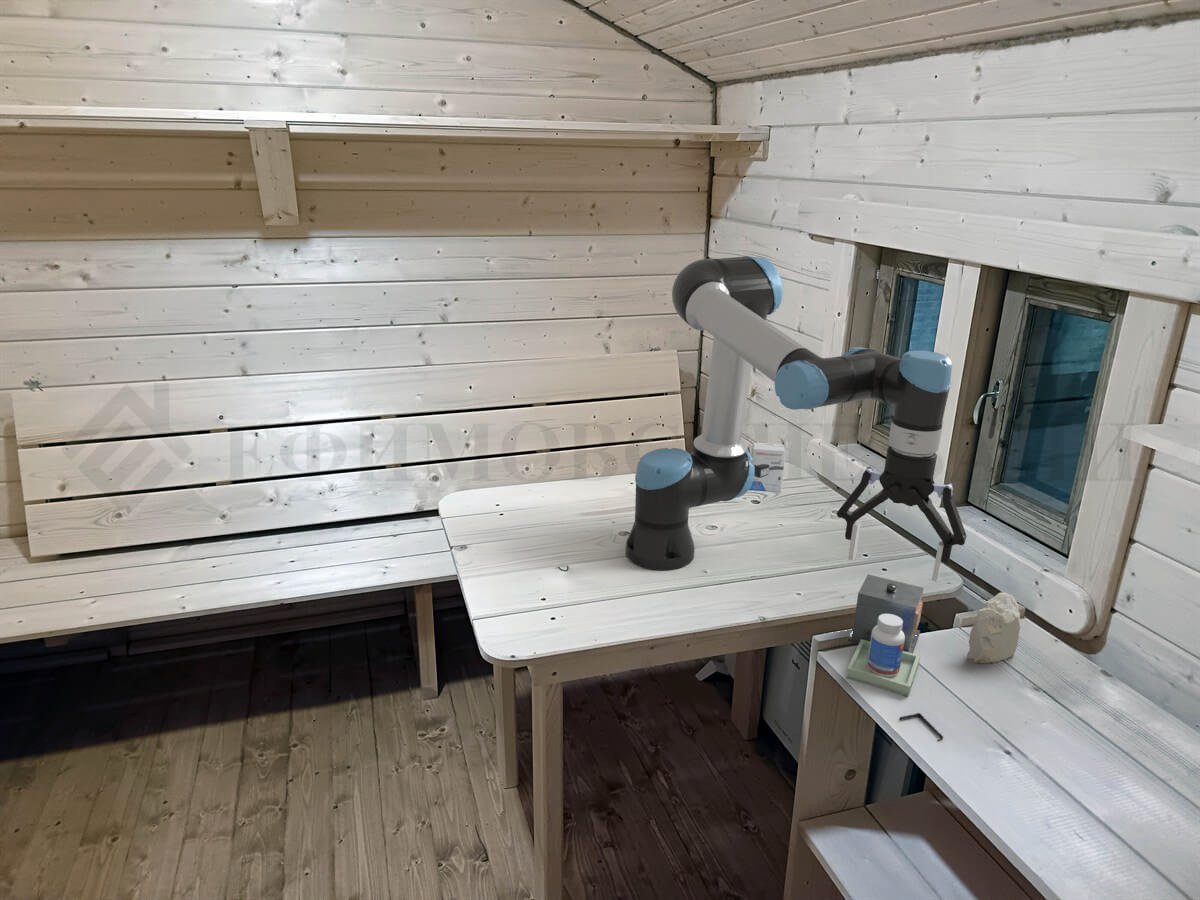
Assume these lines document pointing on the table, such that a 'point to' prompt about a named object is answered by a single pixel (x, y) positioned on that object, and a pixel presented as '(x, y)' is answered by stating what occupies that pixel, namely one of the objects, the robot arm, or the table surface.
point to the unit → (887, 608)
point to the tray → (894, 684)
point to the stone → (995, 630)
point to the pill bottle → (886, 646)
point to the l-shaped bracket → (924, 721)
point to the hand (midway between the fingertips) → (892, 567)
